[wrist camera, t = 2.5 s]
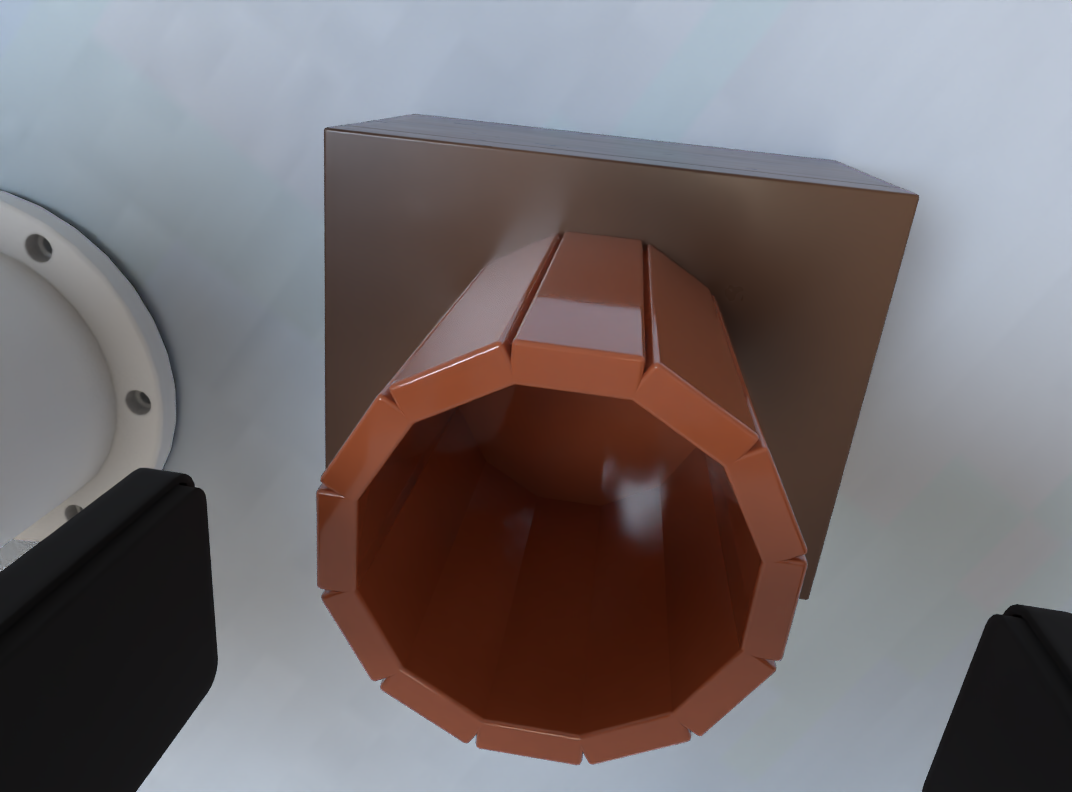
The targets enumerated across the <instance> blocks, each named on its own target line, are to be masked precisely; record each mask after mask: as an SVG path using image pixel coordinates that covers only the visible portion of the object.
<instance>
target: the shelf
mask: <svg viewBox="0 0 1072 792" xmlns="http://www.w3.org/2000/svg"><path fill="white" fill-rule="evenodd" d="M918 200H919V195H917V194H915V193H913V192H910V191H908V190H905V189H903V188H900V187H897V186H895V185H893V184H890V183H888V182H885V181H883V180H881V179H878V178H876V177H873V176H871V175H869V174H866V173H864V172H861V171H859V170H857V169H854V168H852V167H849V166H847V165H845V164H842V163H840V162H837V161H834V160H825V159H816V158H807V157H798V156H789V155H780V154H771V153H762V152H753V151H744V150H735V149H726V148H717V147H708V146H699V145H690V144H681V143H672V142H663V141H654V140H645V139H636V138H627V137H618V136H609V135H600V134H591V133H582V132H573V131H564V130H555V129H545V128H536V127H527V126H518V125H509V124H500V123H491V122H482V121H473V120H464V119H455V118H446V117H437V116H428V115H419V114H412V115H405V116H399V117H392V118H386V119H380V120H373V121H367V122H361V123H354V124H348V125H340V126H333V127H327V128H325V129H324V223H325V458H326V468H327V467H328V465H329V464H330V463H331V461H332V460H333V458H334V457H335V455H336V454H337V452H338V451H339V450H340V448H341V447H342V445H343V444H344V442H345V441H346V439H347V438H348V437H349V435H350V434H351V432H352V431H353V429H354V428H355V426H356V425H357V424H358V422H359V421H360V419H361V418H362V416H363V415H364V413H365V412H366V410H367V409H368V408H369V406H370V405H371V403H372V402H373V400H374V399H375V397H376V396H377V395H378V393H379V392H380V391H381V390H382V389H383V387H384V386H385V385H386V384H387V383H388V381H389V380H390V379H391V378H392V377H393V375H394V374H395V373H396V372H397V371H398V369H399V368H400V367H401V366H402V365H403V363H404V362H405V361H406V360H407V358H408V357H409V356H410V355H411V354H412V352H413V351H414V350H415V349H416V348H417V346H418V345H419V344H420V343H421V342H422V340H423V339H424V338H425V337H426V336H427V334H428V333H429V332H430V331H431V329H432V328H433V327H434V326H435V325H436V323H437V322H438V321H439V320H440V319H441V317H442V316H443V315H444V314H445V313H446V311H447V310H448V309H449V308H450V307H451V305H452V304H453V303H454V302H455V300H456V299H457V298H458V297H459V296H460V294H461V293H462V292H463V291H464V290H465V288H466V287H467V286H468V285H469V284H470V282H471V281H472V280H473V279H474V278H475V276H476V275H477V274H478V273H479V271H480V270H481V269H482V268H484V267H485V268H486V267H487V265H488V264H489V263H490V262H491V261H492V260H495V259H497V258H499V257H502V256H504V255H506V254H509V253H511V252H513V251H515V250H518V249H520V248H522V247H525V246H527V245H529V244H532V243H534V242H536V241H538V240H541V239H543V238H545V237H548V236H550V235H552V234H555V233H558V234H559V235H560V236H561V239H562V238H563V236H564V234H565V232H568V231H569V232H577V233H586V234H594V235H602V236H610V237H619V238H627V239H635V240H641V241H642V242H643V250H644V249H645V247H646V246H647V245H649V244H650V245H653V246H654V247H655V248H657V249H658V250H659V251H661V252H662V253H663V254H665V255H666V256H667V257H668V258H670V259H671V260H672V261H674V262H675V263H676V264H678V265H679V266H680V267H682V268H683V269H684V270H686V271H687V272H688V273H690V274H691V275H692V276H693V277H695V278H696V279H697V280H699V281H700V282H701V283H703V284H704V285H705V286H707V287H708V288H709V290H710V292H711V295H712V296H715V297H716V299H717V302H718V304H719V307H720V310H721V312H722V315H723V317H724V320H725V323H726V325H727V328H728V330H729V333H730V336H731V338H732V341H733V344H734V346H735V349H736V351H737V354H738V357H739V359H740V362H741V365H742V368H743V370H744V373H745V376H746V379H747V381H748V384H749V387H750V390H751V393H752V395H753V398H754V401H755V404H756V407H757V409H758V412H759V415H760V418H761V421H762V423H763V426H764V429H765V432H766V435H767V437H768V440H769V443H770V446H771V449H772V451H773V454H774V457H775V460H776V462H777V465H778V468H779V471H780V474H781V476H782V479H783V482H784V485H785V488H786V490H787V493H788V496H789V499H790V502H791V504H792V507H793V510H794V513H795V516H796V518H797V521H798V524H799V527H800V529H801V532H802V535H803V538H804V541H805V543H806V546H807V553H806V554H805V557H806V560H807V564H808V566H807V570H806V573H805V577H804V581H803V585H802V588H801V592H800V596H799V599H805V600H807V599H808V598H809V595H810V592H811V588H812V584H813V581H814V577H815V574H816V570H817V566H818V563H819V559H820V555H821V552H822V548H823V545H824V541H825V537H826V534H827V530H828V526H829V523H830V519H831V516H832V512H833V508H834V505H835V501H836V497H837V494H838V490H839V487H840V483H841V479H842V476H843V472H844V468H845V465H846V461H847V458H848V454H849V450H850V447H851V443H852V439H853V436H854V432H855V429H856V425H857V421H858V418H859V414H860V411H861V407H862V403H863V400H864V396H865V392H866V389H867V385H868V382H869V378H870V374H871V371H872V367H873V363H874V360H875V356H876V353H877V349H878V345H879V342H880V338H881V334H882V331H883V327H884V324H885V320H886V316H887V313H888V309H889V305H890V302H891V298H892V295H893V291H894V287H895V284H896V280H897V276H898V273H899V269H900V266H901V262H902V258H903V255H904V251H905V247H906V244H907V240H908V237H909V233H910V229H911V226H912V222H913V218H914V215H915V211H916V208H917V204H918Z"/></svg>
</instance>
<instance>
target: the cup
mask: <svg viewBox="0 0 1072 792" xmlns="http://www.w3.org/2000/svg"><path fill="white" fill-rule="evenodd" d="M320 481H321V482H322V484H321V486H320V487H319V488H318V490H317V492H316V505H317V586H318V588H320V589H324V592H323V594H322V595H321V598H322V601H323V603H324V605H325V606H326V608H327V609H328V611H329V613H330V614H331V616H332V617H333V619H334V621H335V622H336V624H337V626H338V627H339V629H340V630H341V632H342V634H343V635H344V637H345V638H346V640H347V642H348V643H349V645H350V647H351V648H352V650H353V651H354V653H355V655H356V656H357V658H358V659H359V661H360V663H361V664H362V666H363V668H364V669H365V671H366V672H367V674H368V676H369V677H370V679H371V680H372V681H377V680H381V679H383V680H382V682H381V685H380V689H381V690H382V691H383V692H385V693H386V694H388V695H390V696H391V697H393V698H394V699H396V700H397V701H399V702H401V703H402V704H404V705H405V706H407V707H408V708H410V709H412V710H413V711H415V712H416V713H418V714H419V715H421V716H423V717H424V718H426V719H427V720H429V721H430V722H432V723H434V724H435V725H437V726H438V727H440V728H441V729H443V730H445V731H446V732H448V733H449V734H451V735H452V736H454V737H455V738H457V739H459V740H460V741H462V742H463V743H469V742H470V741H471V739H472V738H473V737H474V736H475V735H476V746H477V748H479V749H485V750H490V751H496V752H502V753H508V754H514V755H520V756H526V757H531V758H537V759H543V760H549V761H555V762H561V763H567V764H572V765H580V763H581V762H582V758H583V753H584V755H585V757H586V759H587V760H588V762H589V763H590V764H592V765H594V764H598V763H602V762H606V761H611V760H615V759H619V758H623V757H627V756H631V755H635V754H639V753H643V752H647V751H651V750H656V749H660V748H664V747H668V746H672V745H676V744H680V743H684V742H688V741H690V740H691V731H692V732H693V733H695V734H696V735H698V736H702V735H703V734H704V733H706V732H707V731H708V730H709V729H710V728H711V727H712V726H714V725H715V724H716V723H717V722H718V721H719V720H720V719H722V718H723V717H724V716H725V715H726V714H727V713H728V712H730V711H731V710H732V709H733V708H734V707H735V706H736V705H738V704H739V703H740V702H741V701H742V700H743V699H744V698H745V697H747V696H748V695H749V694H750V693H751V692H752V691H753V690H755V689H756V688H757V687H758V686H759V685H760V684H761V683H763V682H764V681H765V680H766V679H767V678H768V677H769V676H771V675H772V674H773V673H774V672H775V671H776V665H775V661H781V659H782V658H783V655H784V651H785V647H786V644H787V640H788V636H789V633H790V629H791V625H792V622H793V618H794V614H795V610H796V607H797V603H798V599H799V596H800V592H801V588H802V585H803V581H804V577H805V573H806V570H807V566H808V564H807V560H806V557H805V554H806V553H807V546H806V543H805V541H804V538H803V535H802V532H801V529H800V527H799V524H798V521H797V518H796V516H795V513H794V510H793V507H792V504H791V502H790V499H789V496H788V493H787V490H786V488H785V485H784V482H783V479H782V476H781V474H780V471H779V468H778V465H777V462H776V460H775V457H774V454H773V451H772V449H771V446H770V443H769V440H768V437H767V435H766V432H765V429H764V426H763V423H762V421H761V418H760V415H759V412H758V409H757V407H756V404H755V401H754V398H753V395H752V393H751V390H750V387H749V384H748V381H747V379H746V376H745V373H744V370H743V368H742V365H741V362H740V359H739V357H738V354H737V351H736V349H735V346H734V344H733V341H732V338H731V336H730V333H729V330H728V328H727V325H726V323H725V320H724V317H723V315H722V312H721V310H720V307H719V304H718V302H717V299H716V297H715V296H712V295H711V292H710V290H709V288H708V287H707V286H705V285H704V284H703V283H701V282H700V281H699V280H697V279H696V278H695V277H693V276H692V275H691V274H690V273H688V272H687V271H686V270H684V269H683V268H682V267H680V266H679V265H678V264H676V263H675V262H674V261H672V260H671V259H670V258H668V257H667V256H666V255H665V254H663V253H662V252H661V251H659V250H658V249H657V248H655V247H654V246H653V245H650V244H649V245H647V246H646V247H645V249H644V250H643V242H642V241H641V240H635V239H627V238H619V237H610V236H602V235H594V234H586V233H577V232H569V231H568V232H565V234H564V236H563V238H562V239H561V236H560V235H559V234H558V233H555V234H552V235H550V236H548V237H545V238H543V239H541V240H538V241H536V242H534V243H532V244H529V245H527V246H525V247H522V248H520V249H518V250H515V251H513V252H511V253H509V254H506V255H504V256H502V257H499V258H497V259H495V260H492V261H491V262H490V263H489V264H488V265H487V267H486V268H485V267H484V268H482V269H481V270H480V271H479V273H478V274H477V275H476V276H475V278H474V279H473V280H472V281H471V282H470V284H469V285H468V286H467V287H466V288H465V290H464V291H463V292H462V293H461V294H460V296H459V297H458V298H457V299H456V300H455V302H454V303H453V304H452V305H451V307H450V308H449V309H448V310H447V311H446V313H445V314H444V315H443V316H442V317H441V319H440V320H439V321H438V322H437V323H436V325H435V326H434V327H433V328H432V329H431V331H430V332H429V333H428V334H427V336H426V337H425V338H424V339H423V340H422V342H421V343H420V344H419V345H418V346H417V348H416V349H415V350H414V351H413V352H412V354H411V355H410V356H409V357H408V358H407V360H406V361H405V362H404V363H403V365H402V366H401V367H400V368H399V369H398V371H397V372H396V373H395V374H394V375H393V377H392V378H391V379H390V380H389V381H388V383H387V384H386V385H385V386H384V387H383V389H382V390H381V391H380V392H379V393H378V395H377V396H376V397H375V399H374V400H373V402H372V403H371V405H370V406H369V408H368V409H367V410H366V412H365V413H364V415H363V416H362V418H361V419H360V421H359V422H358V424H357V425H356V426H355V428H354V429H353V431H352V432H351V434H350V435H349V437H348V438H347V439H346V441H345V442H344V444H343V445H342V447H341V448H340V450H339V451H338V452H337V454H336V455H335V457H334V458H333V460H332V461H331V463H330V464H329V465H328V467H327V468H326V470H325V471H324V473H323V474H322V476H321V480H320Z"/></svg>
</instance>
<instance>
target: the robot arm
mask: <svg viewBox="0 0 1072 792" xmlns="http://www.w3.org/2000/svg"><path fill="white" fill-rule="evenodd" d="M175 425H176V393H175V384H174V379H173V375H172V371H171V366H170V362H169V357H168V353H167V351H166V348H165V346H164V344H163V341H162V339H161V336H160V334H159V332H158V329H157V327H156V324H155V322H154V319H153V318H152V316H151V315H150V313H149V311H148V310H147V308H146V306H145V305H144V303H143V302H142V300H141V298H140V297H139V295H138V294H137V292H136V290H135V289H134V287H133V286H132V284H131V283H130V282H129V281H128V280H127V279H126V277H125V276H124V275H123V274H122V273H121V271H120V270H119V269H118V268H117V267H116V266H115V264H114V263H113V262H112V261H111V260H110V259H109V257H108V256H107V255H106V254H105V253H104V252H102V251H101V250H100V249H99V248H98V247H97V246H95V245H94V244H93V243H92V242H91V241H90V240H89V239H87V238H86V237H85V236H84V235H83V234H82V233H80V232H79V231H78V230H77V229H76V228H74V227H73V226H71V225H70V224H68V223H66V222H65V221H63V220H62V219H60V218H58V217H57V216H55V215H54V214H52V213H51V212H49V211H47V210H46V209H44V208H43V207H41V206H38V205H36V204H34V203H31V202H29V201H27V200H24V199H22V198H19V197H17V196H15V195H12V194H10V193H8V192H5V191H1V190H0V548H1V547H3V546H4V545H5V544H7V543H8V542H10V541H11V540H22V541H36V542H39V543H38V544H37V545H36V546H34V547H33V548H32V549H30V550H29V551H28V552H26V553H25V554H24V555H22V556H21V557H20V558H18V559H17V560H16V561H14V562H13V563H12V564H11V565H9V566H8V567H7V568H5V569H4V570H3V571H1V572H0V792H136V791H137V790H138V788H139V787H140V786H141V784H142V783H143V782H144V780H145V779H146V777H147V776H148V775H149V773H150V772H151V770H152V769H153V768H154V766H155V765H156V763H157V762H158V761H159V759H160V758H161V757H162V755H163V754H164V752H165V751H166V750H167V748H168V747H169V745H170V744H171V743H172V741H173V740H174V738H175V737H176V736H177V734H178V733H179V732H180V730H181V729H182V727H183V726H184V725H185V723H186V722H187V720H188V719H189V718H190V716H191V715H192V714H193V712H194V711H195V709H196V708H197V707H198V705H199V704H200V702H201V701H202V700H203V698H204V697H205V695H206V694H207V693H208V691H209V689H210V688H211V686H212V683H213V681H214V678H215V675H216V671H217V666H218V655H217V641H216V627H215V613H214V599H213V585H212V571H211V557H210V543H209V529H208V515H207V501H206V496H205V493H204V491H203V490H202V489H200V488H196V487H195V484H194V482H193V480H192V478H191V477H190V476H189V475H187V474H183V473H176V472H170V471H164V470H162V469H163V467H164V464H165V462H166V460H167V457H168V455H169V453H170V450H171V447H172V441H173V436H174V430H175ZM922 792H1072V614H1071V613H1068V612H1063V611H1057V610H1051V609H1044V608H1038V607H1032V606H1025V605H1019V604H1016V605H1012V606H1010V607H1009V608H1008V609H1007V610H1006V611H1005V612H1004V614H1003V615H1000V614H996V615H993V616H992V617H990V618H989V620H988V621H987V623H986V625H985V628H984V630H983V633H982V636H981V638H980V641H979V643H978V646H977V648H976V651H975V654H974V656H973V659H972V661H971V664H970V667H969V669H968V672H967V674H966V677H965V679H964V682H963V685H962V687H961V690H960V692H959V695H958V698H957V700H956V703H955V705H954V708H953V710H952V713H951V716H950V718H949V721H948V723H947V726H946V728H945V731H944V734H943V736H942V739H941V741H940V744H939V747H938V749H937V752H936V754H935V757H934V759H933V762H932V765H931V767H930V770H929V772H928V775H927V777H926V780H925V783H924V786H923V790H922Z"/></svg>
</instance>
